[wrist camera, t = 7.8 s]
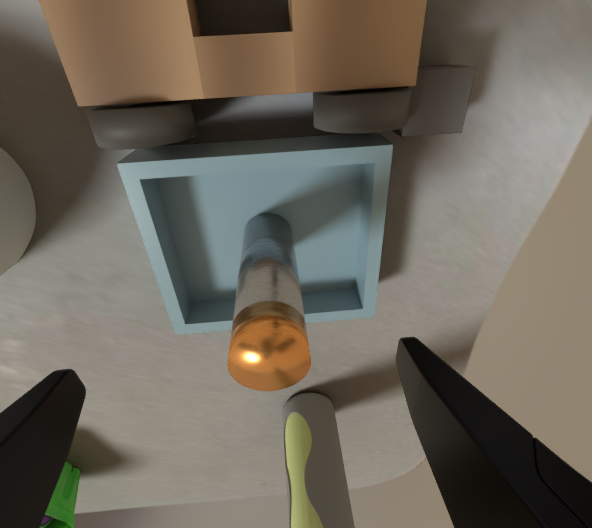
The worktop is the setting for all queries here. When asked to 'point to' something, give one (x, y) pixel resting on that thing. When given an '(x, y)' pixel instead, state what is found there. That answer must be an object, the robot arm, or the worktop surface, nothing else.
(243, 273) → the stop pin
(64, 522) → the fruit basket
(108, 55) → the dolly
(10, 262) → the lumpy-topped squat cylinder
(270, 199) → the tray
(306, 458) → the grey and yellow cylinder
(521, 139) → the worktop surface
